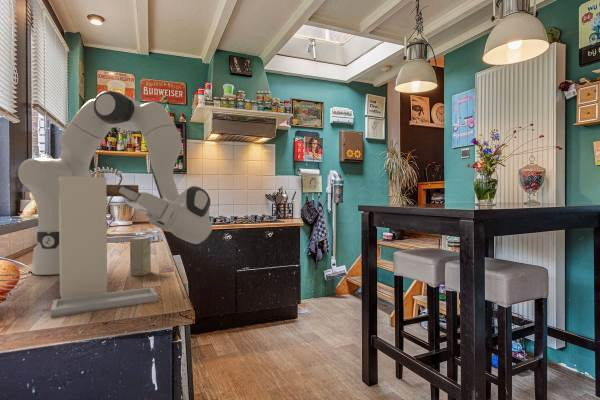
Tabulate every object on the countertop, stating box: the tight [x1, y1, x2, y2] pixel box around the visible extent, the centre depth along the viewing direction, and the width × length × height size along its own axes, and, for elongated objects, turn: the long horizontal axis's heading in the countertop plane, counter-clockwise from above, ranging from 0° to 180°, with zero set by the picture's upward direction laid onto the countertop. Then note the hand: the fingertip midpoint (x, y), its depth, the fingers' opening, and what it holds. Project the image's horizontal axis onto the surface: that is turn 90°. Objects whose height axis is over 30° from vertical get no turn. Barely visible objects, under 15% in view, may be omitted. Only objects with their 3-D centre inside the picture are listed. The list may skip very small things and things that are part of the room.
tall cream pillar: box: [59, 176, 108, 299], centre depth 93 cm, size 10×9×31 cm
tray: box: [50, 286, 159, 318], centre depth 85 cm, size 22×9×2 cm, turn 122°
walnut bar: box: [106, 184, 140, 197], centre depth 96 cm, size 18×3×3 cm, turn 127°
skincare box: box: [129, 236, 152, 277], centre depth 118 cm, size 6×4×12 cm
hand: (117, 189), depth 98 cm, fingers closed on walnut bar, 3 cm apart
